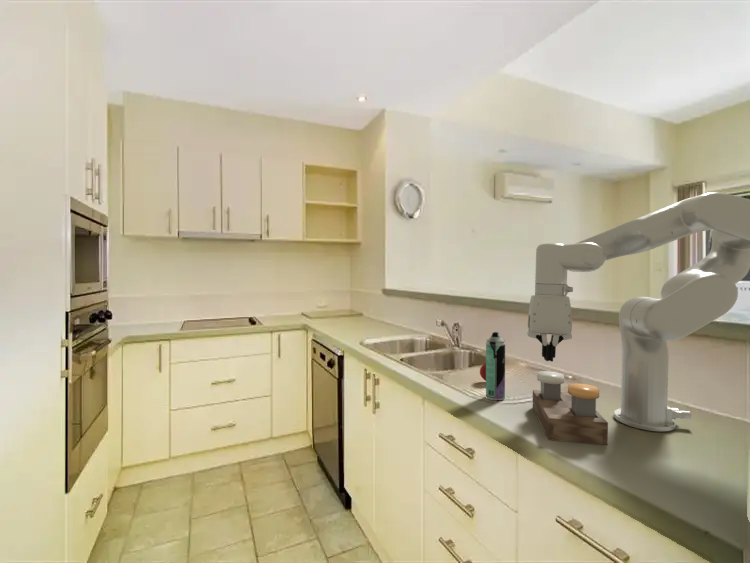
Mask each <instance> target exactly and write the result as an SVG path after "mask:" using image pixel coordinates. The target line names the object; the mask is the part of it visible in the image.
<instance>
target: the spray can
mask: <svg viewBox="0 0 750 563" xmlns="http://www.w3.org/2000/svg"><path fill="white" fill-rule="evenodd" d="M505 342H506V341H505V340H504V339H503V338H502V337H501V336H500V334H499V332H498V331H494V332H492V335H490V337H489V338H487V339H486V340H485V363H486V381H485V398H486V397H487V398H489V399H492V400H503V401H505V400H506V343H505ZM487 398H486V399H487ZM489 399H488V400H489ZM504 399H505V400H504ZM492 400H491V401H492Z"/></svg>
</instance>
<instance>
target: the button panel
mask: <svg viewBox="0 0 750 563" xmlns="http://www.w3.org/2000/svg"><path fill="white" fill-rule="evenodd" d="M571 401H572V395H570V394H569V393H568V391H566V392H565V391H561V401H556V400H542V398H541V390H537V389H536V390H535V389H532V409H533V411H534V413H535V415H536V418H537V420H538V421H539V424H540V425H541V427H542V429H543V431H544V433H545V435H546V437H547V439H548V440H549V441H557V440H558V441H560V442H568V443H569V442H570V443H580V444H590V445H591V444H592V445H602V446H603V445H604V446H608V444H609V442H608V441H609V440H608V439H609V423H608V421H607V420H606V419H605V417H603V416H602V414H600V412H598V410H596V418H593V417H580V416H574V415H573V413H572V412H571Z"/></svg>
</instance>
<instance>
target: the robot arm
mask: <svg viewBox="0 0 750 563" xmlns="http://www.w3.org/2000/svg"><path fill="white" fill-rule="evenodd" d="M706 231H712V232H711V249H710V251H709V253H707V255H706V256H704V257H703V258H702V259H701V260H699V261H698V262H696V263H694V264H692V265H691V266H689V267H688V268H686V269H684V270H682V271H681V272H679V273H677V274H675V275H674V276H673V277H671V278H669V279H668V280H666V282H665V283H664V284H663V285H662V287H661V291H660V296H661V298H657V297H650V296H637V297H632V298H630V299H628V300H626V301H625V302H624V303H623V304H622V305H621V307H620V309H619V313H618V323H619V324H618V325H619V330H620V337H621V377H620V378H621V380H620V381H621V384H620V385H621V386H620V388H621V389H620V390H621V391H620V393H621V394H620V395H621V396H620V397H621V398H620V407H619V408H617V409H615V410H614V411H613V417H614V419H616V420H617V421H618V422H620V423H622V424H623V425H626V426H629V427H632V428H635V429H639V430H645V431H650V432H661V433H662V432H670V431H673V430H675V429H676V421H674V420H677V419H680V420H692V413H691V411H689V410H688V411H686V410H680V409H679V408H676V407H670V406H669V405H668V402H669V401H668V400H669V399H668V397H669V393H668V392H669V360H670V358H669V346H668V342H674V341H679V340H680V339H683V338H686V337H687V336H690V335H691V334H693V333H694V332H697V331H698V330H700V329H702V328H704V327H705V326H707V325H708V324H711V323H712V322H714V321H715V320H717V319H719V318H721V317H723V316H724V315H725V314H727V313H728V312H729V311H730V310H731V309H732V308H733V307H734V306H735V304H736V302H737V300H738V297H739V296H738V295H739V291H738V287H737V285H736V284H737V283H739V282H741V281H742V280H743V279H744V278H745V277H746V276H747V275H748V273H749V271H750V198H747V197H746V198H745V197H743V196H738V195H735V194H729V193H726V192H717V191H715V192H714V191H713V192H706V193H703V194H699V195H696V196H692V197H689V198H685V199H683V200H680V201H677V202H674V203H672V204H670V205H667V206H665V207H662V208H660V209H657V210H654V211H651V212H650V213H647V214H644V215H642V216H640V217H636V218H634V219H632V220H630V221H629V220H628V221H626V222H624V223H622V224H619V225H617V226H615V227H613V228H610V229H609V230H608V229H607V230H606V231H604V232H601V233H599V234H596V235H593V236H591V237H587V238H586V239H583V240H580V241H578V242H576V243H569V244H568V243H567V244H565V243H559V242H558V243H556V242H555V243H553V242H551V243H542V244H541V243H540V244H539V245H538V246H536V249H535V250H536V251H535V273H534V274H535V277H534V278H535V280H534V283H535V284H534V294H531V296H530V299H529V306H528V316H527V329H528V331H527V333H526V335H527V336H528V337H529V338H532V339H536V340H538V341H539V342H540V344H542V345H541V357H542V358H543V359H544V361H545V362H554V358H556V353H557V352H556V351H557V349H556V347H557V346H558V345H559V344H560V343H561V342H562V341H566V340H571V339H572V338H573V336H572V331H573V330H572V329H573V316H572V305H571V300H570V297H569V296H567V295H568V294H569V293H573V291H574V287H572V286H569V285H568V272H569V271H570V272H572V273H574V272H575V273H592V272H595V271H596V270H599V269H601V267H602V266H603V265H604V264H605V262H606V261H609V260H612V259H616V258H619V257H624V256H625V257H626V256H631V255H637V254H641V253H644V252H648V251H651V250H654V249H657V248H659V247H662V246H663V245H664V246H665V245H666V244H670V243H673V242H674V241H677V240H680V239H683V238H685V237H688V236H690V235H693V234H696V233H700V232H706ZM547 335H550V340H549V342H548V336H547Z"/></svg>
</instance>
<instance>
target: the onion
mask: <svg viewBox="0 0 750 563" xmlns="http://www.w3.org/2000/svg"><path fill="white" fill-rule="evenodd" d="M479 375H480V377H481V378H482V379H483V380H484V382H486V362H485V363H483V364H482V365H481V367H480V369H479Z"/></svg>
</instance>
